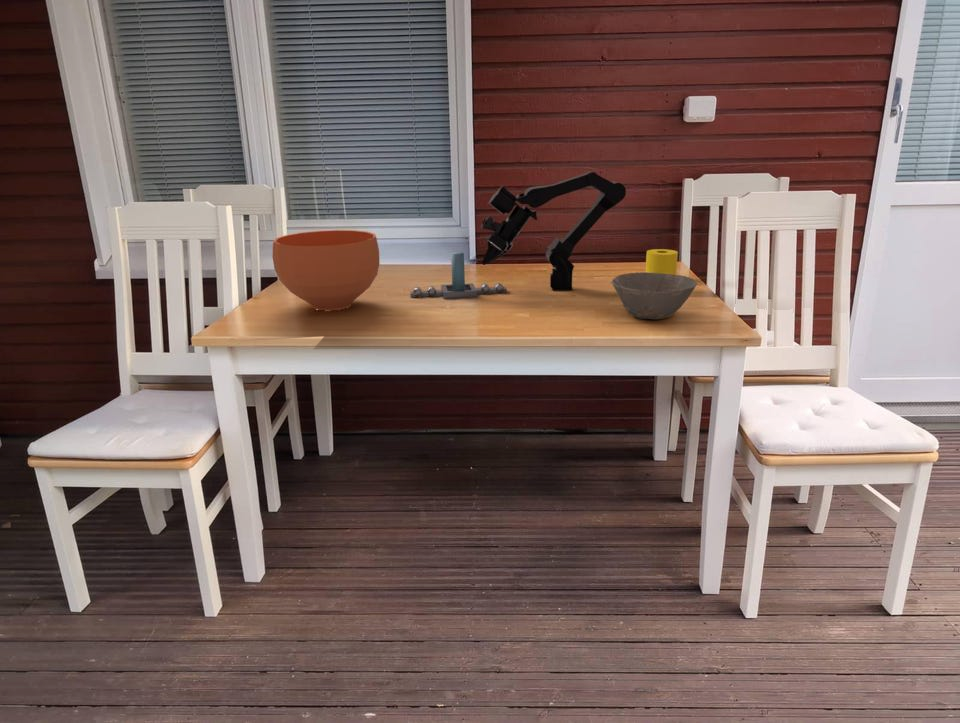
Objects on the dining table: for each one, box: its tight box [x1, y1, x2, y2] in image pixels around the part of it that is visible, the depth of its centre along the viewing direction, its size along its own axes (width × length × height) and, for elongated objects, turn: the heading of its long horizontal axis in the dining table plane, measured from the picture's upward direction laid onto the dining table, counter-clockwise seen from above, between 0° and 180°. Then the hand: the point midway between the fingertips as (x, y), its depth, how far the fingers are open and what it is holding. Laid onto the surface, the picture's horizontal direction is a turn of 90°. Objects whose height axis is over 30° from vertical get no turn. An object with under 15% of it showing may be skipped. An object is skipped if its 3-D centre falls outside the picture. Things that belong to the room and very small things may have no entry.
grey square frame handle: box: [409, 282, 508, 300], centre depth 207 cm, size 30×10×3 cm, turn 97°
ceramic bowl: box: [611, 272, 698, 320], centre depth 178 cm, size 22×23×10 cm
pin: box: [450, 251, 466, 291], centre depth 205 cm, size 4×4×13 cm
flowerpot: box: [272, 229, 380, 311], centre depth 192 cm, size 30×30×20 cm
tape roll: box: [644, 248, 679, 275], centre depth 219 cm, size 10×10×9 cm
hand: (484, 263), depth 207 cm, fingers open, 9 cm apart
